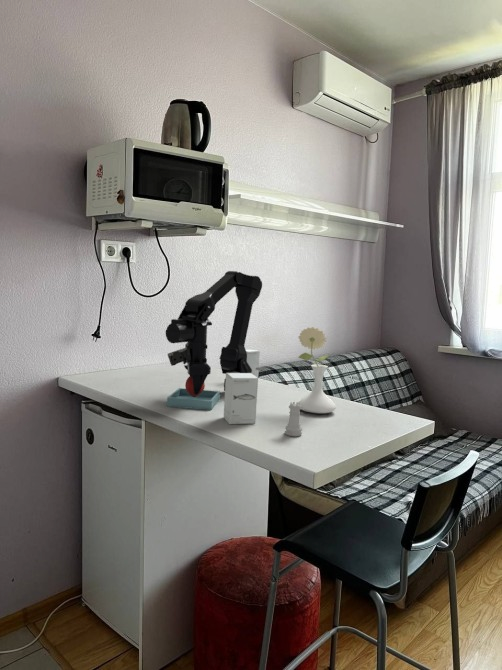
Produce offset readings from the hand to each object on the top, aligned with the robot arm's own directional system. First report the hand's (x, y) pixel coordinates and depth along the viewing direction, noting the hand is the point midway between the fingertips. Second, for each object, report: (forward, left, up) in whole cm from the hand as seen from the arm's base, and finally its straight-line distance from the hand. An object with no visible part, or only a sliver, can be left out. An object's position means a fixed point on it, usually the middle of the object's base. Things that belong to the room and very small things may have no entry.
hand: (195, 391), depth 159 cm
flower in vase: (-36, -2, -4) cm, 36 cm away
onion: (0, 0, -2) cm, 2 cm away
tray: (0, 0, -3) cm, 3 cm away
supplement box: (-16, +15, -4) cm, 22 cm away
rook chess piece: (-31, +23, -4) cm, 39 cm away
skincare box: (-12, -35, -4) cm, 37 cm away
